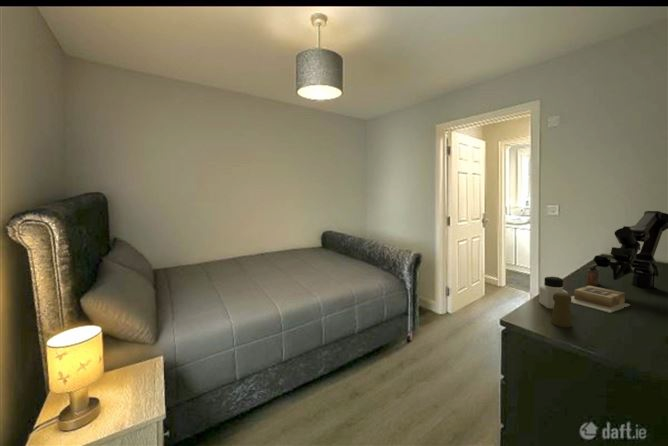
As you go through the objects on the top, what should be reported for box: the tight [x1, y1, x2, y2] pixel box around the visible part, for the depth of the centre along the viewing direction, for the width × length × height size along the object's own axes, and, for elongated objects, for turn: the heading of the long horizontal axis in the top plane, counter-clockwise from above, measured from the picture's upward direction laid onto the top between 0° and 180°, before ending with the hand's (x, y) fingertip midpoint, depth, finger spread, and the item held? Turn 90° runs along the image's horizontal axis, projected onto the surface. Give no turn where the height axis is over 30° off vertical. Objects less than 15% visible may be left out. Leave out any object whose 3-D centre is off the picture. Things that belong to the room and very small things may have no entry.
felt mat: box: [570, 295, 631, 314], centre depth 121 cm, size 16×16×1 cm
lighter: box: [586, 263, 600, 287], centre depth 145 cm, size 8×3×10 cm, turn 117°
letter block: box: [573, 285, 626, 308], centre depth 122 cm, size 4×12×12 cm
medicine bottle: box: [538, 275, 569, 310], centre depth 118 cm, size 7×7×12 cm
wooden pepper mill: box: [550, 293, 573, 328], centre depth 102 cm, size 6×6×11 cm
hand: (615, 279), depth 127 cm, fingers closed
